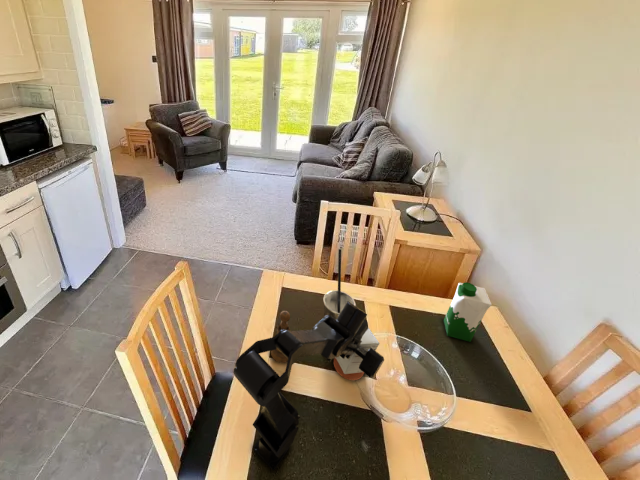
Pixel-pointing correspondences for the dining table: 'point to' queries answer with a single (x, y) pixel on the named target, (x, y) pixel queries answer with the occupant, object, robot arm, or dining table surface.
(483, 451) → the dining table surface
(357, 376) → the coaster
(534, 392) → the dining table surface
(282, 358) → the wooden pepper mill
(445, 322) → the milk carton
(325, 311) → the steel tumbler with straw
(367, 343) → the white packaging box
